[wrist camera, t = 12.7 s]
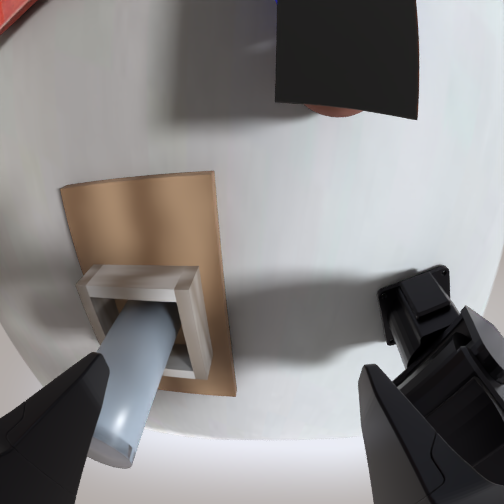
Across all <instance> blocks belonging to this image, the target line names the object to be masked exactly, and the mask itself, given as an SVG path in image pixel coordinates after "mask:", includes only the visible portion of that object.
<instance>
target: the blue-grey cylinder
mask: <svg viewBox="0 0 504 504" xmlns="http://www.w3.org/2000/svg"><path fill="white" fill-rule="evenodd" d="M180 326H181V320H180V315H179V311H178V306H177V303H176V302H162V301H143V300H128V301H127V303H126V304H125V306H124V307H123V309H122V311H121V312H120V314H119V315H118V317H117V319H116V320H115V322H114V323H113V325H112V327H111V328H110V330H109V332H108V333H107V335H106V337H105V338H104V340H103V342H102V343H101V345H100V347H99V349H98V350H97V352H96V353H101V354H102V355H103V356H104V358H105V360H106V362H107V364H108V366H109V369H110V375H109V379H108V383H107V388H106V392H105V397H104V401H103V405H102V409H101V412H100V415H99V419H98V422H97V425H96V428H95V431H94V434H93V437H92V441H91V444H90V447H89V451H88V454H87V457H89V458H91V459H93V460H95V461H98V462H100V463H103V464H106V465H109V466H112V467H116V468H124V469H126V468H130V467H131V466H132V463H133V460H134V457H135V454H136V451H137V448H138V445H139V441H140V438H141V436H142V433H143V430H144V427H145V424H146V421H147V418H148V415H149V412H150V409H151V406H152V403H153V400H154V397H155V395H156V392H157V389H158V386H159V383H160V380H161V378H162V375H163V372H164V369H165V367H166V364H167V361H168V358H169V356H170V353H171V350H172V348H173V345H174V342H175V339H176V337H177V334H178V331H179V329H180Z"/></svg>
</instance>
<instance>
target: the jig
mask: <svg viewBox="0 0 504 504" xmlns="http://www.w3.org/2000/svg"><path fill="white" fill-rule="evenodd" d="M60 191H61V196H62V200H63V205H64V209H65V213H66V217H67V221H68V225H69V229H70V233H71V236H72V240H73V243H74V247H75V250H76V254H77V257H78V260H79V263H80V266H81V270H82V273H83V277H82V278H81V279H80V280H79V281H78V282H77V284H76V288H77V290H78V293H79V296H80V298H81V301H82V304H83V306H84V309H85V311H86V314H87V316H88V319H89V321H90V323H91V326H92V328H93V330H94V333H95V335H96V337H97V339H98V342H99V344H100V345H101V343H102V342H103V340H104V338H105V337H106V335H107V333H108V332H109V330H110V328H111V327H112V325H113V323H114V322H115V320H116V319H117V317H118V315H119V314H120V312H121V311H122V309H123V307H124V306H125V304H126V303H127V301H128V300H143V301H162V302H176V303H177V306H178V311H179V315H180V320H181V326H180V329H179V331H178V334H177V337H176V339H175V342H174V345H173V348H172V350H171V353H170V356H169V358H168V361H167V364H166V367H165V369H164V372H163V375H162V378H161V380H160V383H159V386H158V389H159V390H166V391H174V392H183V393H193V394H203V395H216V396H232V397H236V391H237V387H236V379H235V372H234V364H233V355H232V347H231V339H230V330H229V321H228V312H227V303H226V294H225V285H224V275H223V265H222V255H221V244H220V233H219V222H218V211H217V199H216V187H215V174H214V171H202V172H185V173H171V174H158V175H147V176H136V177H127V178H117V179H109V180H101V181H93V182H85V183H78V184H71V185H66V186H65V187H63V188H61V189H60Z"/></svg>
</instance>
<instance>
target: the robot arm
mask: <svg viewBox="0 0 504 504" xmlns="http://www.w3.org/2000/svg"><path fill="white" fill-rule="evenodd" d="M443 271H444V273H442V272H443ZM382 294H385V295H384V296H382ZM377 298H378V302H379V307H380V312H381V317H382V322H383V328H384V333H385V339H386V343H387V345H390V346H391V345H394V344H396V345H397V348H398V350H399V353H400V356H401V358H402V361H403V364H404V366H405V370H404V371H403V372H402V373H401V374H400V375H399V376H398V377H397V378H395V379H394V380H393V381H391V380H390V379H389V378H388V377H387V376H386V374H385V373H384V372H383V371H382V370H381V369H380V368H379V367H378V366H377V365H376V364H366V365H364V366H363V368H362V371H361V374H360V378H359V381H358V390H359V402H360V416H361V427H362V433H363V438H364V444H365V449H366V455H367V461H368V467H369V473H370V480H371V487H372V494H373V501H374V504H504V338H503V336H502V335H501V334H500V332H499V331H498V330H497V329H496V328H495V326H494V325H493V324H492V323H490V322H489V321H487V320H486V319H485V318H483V317H482V316H480V315H479V314H478V313H476V312H475V311H473V310H472V309H470V308H469V307H468V306H466V305H465V307H464V308H463V309H462V310H461V313H459V311H458V310H457V308H456V307H455V305H454V304H453V302H452V301H451V299H450V277H449V269H448V268H447V267H446V266H444V265H443V266H440V267H438V268H435V269H433V270H430V271H428V272H425V273H422V274H420V275H417V276H415V277H412V278H409V279H407V280H404V281H401V282H399V283H396V284H393V285H390V286H388V287H385V288H382V289H380V290H379V291H378V293H377ZM390 340H391V341H390ZM109 375H110V369H109V366H108V364H107V362H106V360H105V358H104V356H103V355H102V354H101V353H96V352H91V353H90V354H88V355H87V356H85V357H84V358H83V359H81V360H80V361H79V362H77V363H76V364H74V365H73V366H72V367H70V368H69V369H68V370H66V371H65V372H64V373H62V374H61V375H60V376H58V377H57V378H55V379H54V380H53V381H51V382H50V383H49V384H47V385H46V386H45V387H43V388H42V389H41V390H39V391H38V392H37V393H35V394H34V395H33V396H31V397H30V398H29V399H27V400H26V402H23V403H22V404H21V405H19V406H18V407H16V408H15V409H14V410H12V411H11V412H9V413H8V414H6V415H5V416H3V417H2V418H0V504H75V500H76V495H77V490H78V487H79V483H80V479H81V475H82V472H83V468H84V465H85V461H86V458H87V454H88V451H89V447H90V444H91V441H92V437H93V434H94V431H95V428H96V425H97V422H98V419H99V415H100V412H101V409H102V405H103V401H104V397H105V392H106V388H107V383H108V379H109Z"/></svg>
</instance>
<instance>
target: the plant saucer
mask: <svg viewBox="0 0 504 504" xmlns="http://www.w3.org/2000/svg"><path fill="white" fill-rule="evenodd" d="M37 1H38V0H0V35H1V34H2V33H3V32H4V31H5V30H7V29H8V28H9V27H10V26H11V25H12V24H13V23H14V22H15V21H16V20H18V19H19V18H20V17H21V16H22V15H23V14H24V13H25V12H26V11H27V10H28V9H29V8H30V7H31V6H32V5H33V4H34V3H36V2H37Z"/></svg>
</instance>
